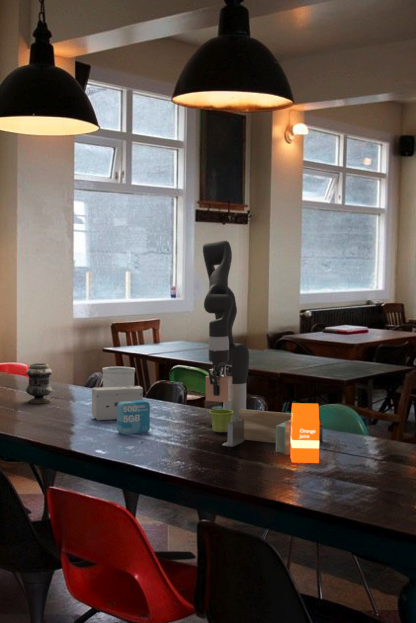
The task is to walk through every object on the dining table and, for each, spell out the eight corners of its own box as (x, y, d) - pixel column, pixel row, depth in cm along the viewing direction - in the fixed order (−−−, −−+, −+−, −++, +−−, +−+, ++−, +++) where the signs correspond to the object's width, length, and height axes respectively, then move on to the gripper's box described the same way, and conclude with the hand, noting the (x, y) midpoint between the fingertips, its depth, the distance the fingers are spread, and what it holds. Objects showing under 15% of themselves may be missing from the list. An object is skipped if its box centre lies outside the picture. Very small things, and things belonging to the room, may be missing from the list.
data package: (121, 434, 321) (121, 403, 320) (116, 432, 325) (116, 402, 324) (149, 432, 327) (150, 401, 326) (145, 430, 331) (145, 399, 330)
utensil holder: (117, 402, 396) (117, 365, 395) (141, 405, 387) (141, 367, 386) (95, 406, 384) (95, 368, 383) (120, 410, 375) (120, 371, 374)
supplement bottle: (323, 443, 309) (324, 412, 308) (320, 446, 303) (321, 415, 303) (307, 442, 311) (308, 411, 310) (304, 445, 305) (304, 414, 305)
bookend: (233, 440, 306) (234, 418, 306) (244, 441, 305) (244, 419, 304) (222, 445, 298) (222, 423, 297) (232, 446, 296) (232, 424, 295)
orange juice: (290, 460, 281) (291, 401, 280) (316, 461, 281) (317, 401, 280) (291, 466, 273) (292, 405, 272) (319, 466, 273) (320, 405, 272)
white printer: (139, 415, 362) (139, 369, 361) (144, 419, 354) (144, 371, 353) (91, 418, 356) (91, 371, 354) (95, 421, 348) (95, 373, 347)
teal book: (286, 446, 298) (286, 421, 297) (295, 447, 296) (295, 422, 295) (275, 451, 289) (275, 425, 288) (285, 453, 287) (285, 426, 287)
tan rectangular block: (210, 398, 315) (210, 375, 315) (232, 400, 311) (232, 376, 311) (205, 400, 312) (205, 376, 311) (228, 402, 308) (227, 377, 307)
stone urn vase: (49, 404, 389) (49, 365, 388) (23, 403, 389) (23, 365, 388) (54, 399, 401) (54, 362, 400) (29, 399, 401) (28, 362, 400)
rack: (240, 441, 310) (240, 408, 310) (304, 448, 299) (304, 414, 299) (221, 450, 296) (221, 415, 295) (288, 457, 285) (288, 422, 284)
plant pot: (238, 433, 325) (238, 411, 325) (222, 437, 318) (222, 414, 318) (220, 430, 331) (220, 408, 331) (204, 433, 325) (204, 411, 324)
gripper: (217, 345, 318) (217, 390, 319) (201, 350, 305) (201, 396, 306) (235, 346, 315) (236, 392, 316) (220, 350, 302) (220, 398, 303)
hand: (219, 394), depth 311 cm, fingers closed on tan rectangular block, 4 cm apart
